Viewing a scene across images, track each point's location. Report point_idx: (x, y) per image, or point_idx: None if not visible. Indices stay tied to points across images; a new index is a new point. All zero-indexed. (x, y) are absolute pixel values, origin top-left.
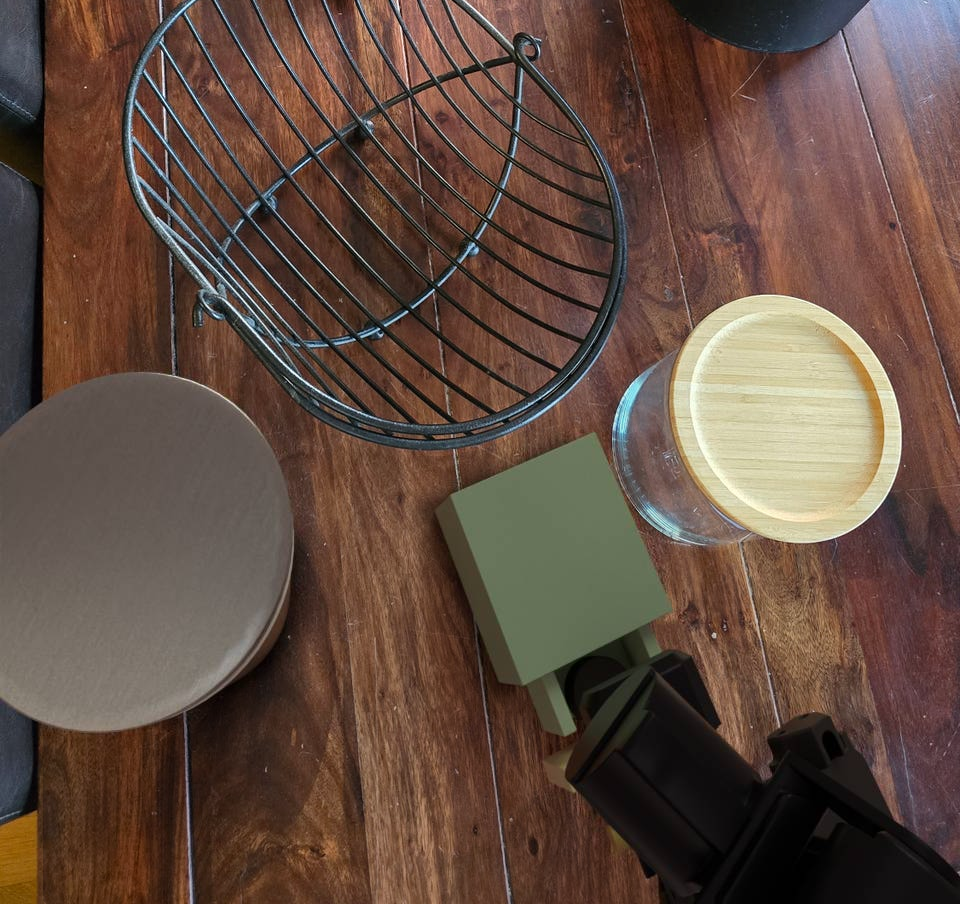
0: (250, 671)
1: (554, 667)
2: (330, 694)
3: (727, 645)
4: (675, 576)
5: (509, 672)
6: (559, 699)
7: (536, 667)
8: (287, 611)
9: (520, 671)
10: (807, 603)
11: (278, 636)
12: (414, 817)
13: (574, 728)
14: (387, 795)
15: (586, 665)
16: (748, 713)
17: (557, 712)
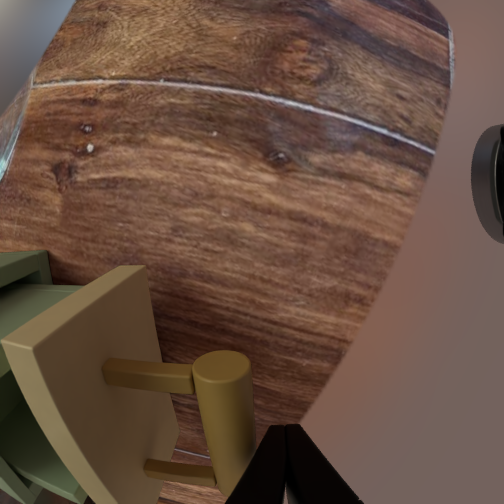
0: (89, 499)
1: (4, 482)
2: None
3: (106, 131)
4: (29, 179)
5: None
6: (43, 484)
7: (10, 491)
8: (47, 493)
9: (18, 500)
10: (117, 14)
11: (61, 501)
12: (185, 488)
13: (72, 495)
14: (167, 491)
15: None
16: (196, 130)
17: (57, 493)
